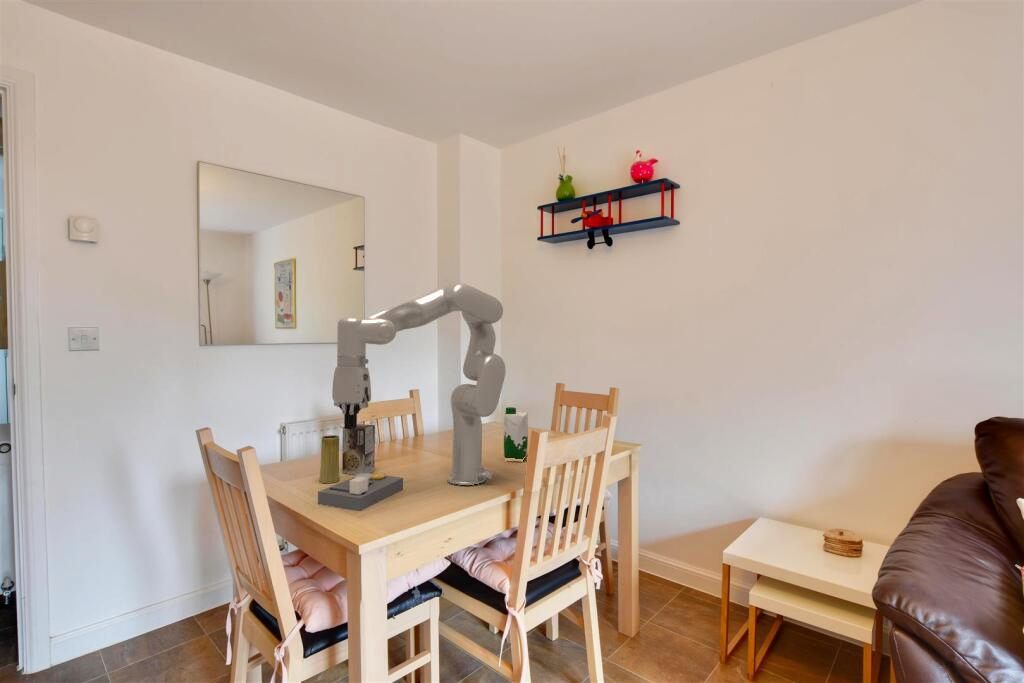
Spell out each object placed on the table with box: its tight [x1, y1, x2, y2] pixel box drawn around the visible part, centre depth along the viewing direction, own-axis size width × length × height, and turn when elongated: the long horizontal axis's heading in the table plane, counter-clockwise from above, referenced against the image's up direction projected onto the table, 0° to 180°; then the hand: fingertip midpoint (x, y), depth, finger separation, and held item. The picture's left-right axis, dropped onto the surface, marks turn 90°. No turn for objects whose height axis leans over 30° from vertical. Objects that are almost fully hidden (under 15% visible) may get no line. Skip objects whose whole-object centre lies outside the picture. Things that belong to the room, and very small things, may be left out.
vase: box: [319, 434, 340, 484], centre depth 159 cm, size 6×6×14 cm
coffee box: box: [341, 423, 376, 476], centre depth 170 cm, size 9×6×16 cm
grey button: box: [353, 473, 372, 486], centre depth 145 cm, size 5×5×3 cm
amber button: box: [371, 472, 386, 481], centre depth 152 cm, size 5×5×3 cm
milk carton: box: [503, 406, 529, 459], centre depth 192 cm, size 9×9×20 cm
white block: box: [350, 477, 368, 495], centre depth 137 cm, size 3×4×6 cm
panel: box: [317, 473, 404, 512], centre depth 145 cm, size 14×21×4 cm, turn 160°
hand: (350, 428), depth 138 cm, fingers closed
